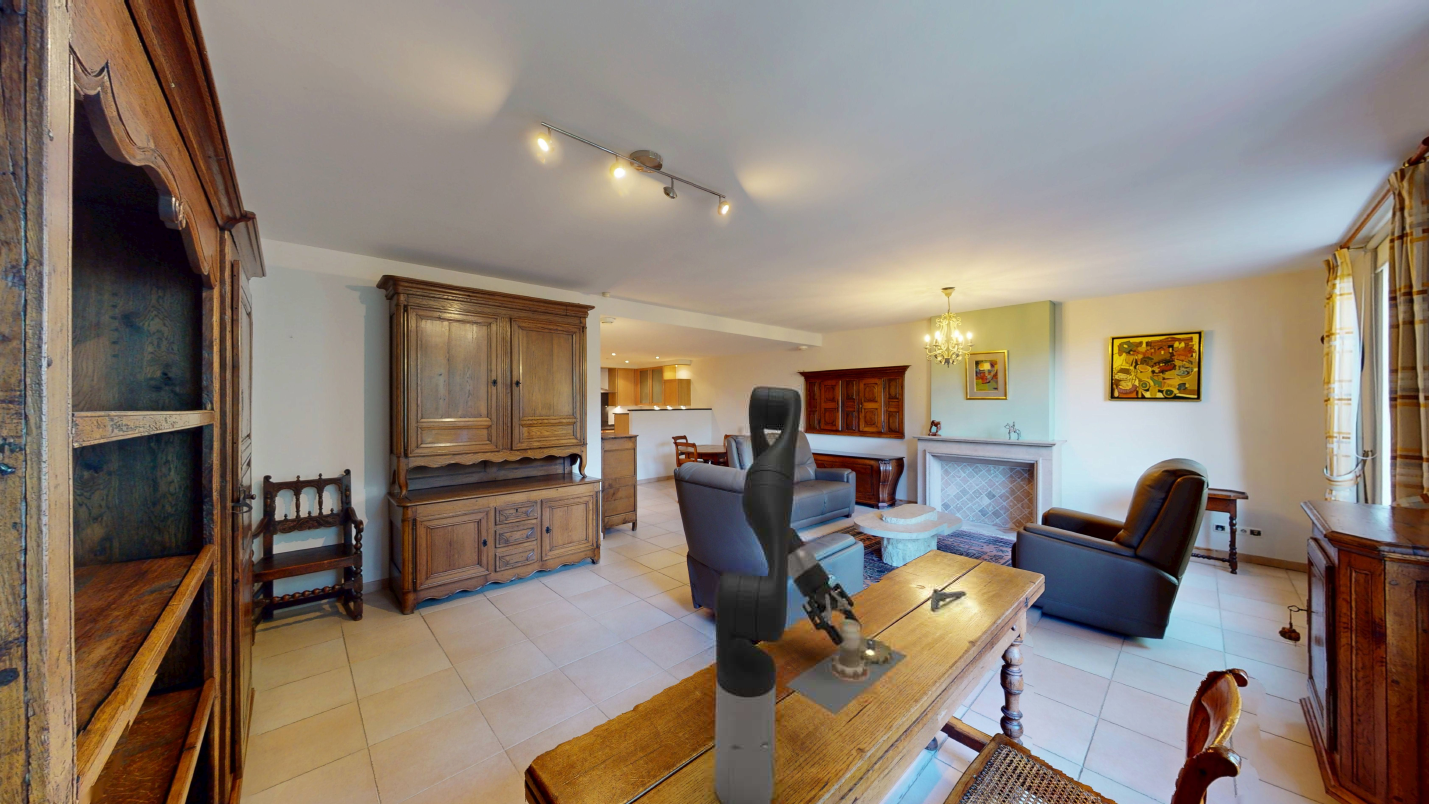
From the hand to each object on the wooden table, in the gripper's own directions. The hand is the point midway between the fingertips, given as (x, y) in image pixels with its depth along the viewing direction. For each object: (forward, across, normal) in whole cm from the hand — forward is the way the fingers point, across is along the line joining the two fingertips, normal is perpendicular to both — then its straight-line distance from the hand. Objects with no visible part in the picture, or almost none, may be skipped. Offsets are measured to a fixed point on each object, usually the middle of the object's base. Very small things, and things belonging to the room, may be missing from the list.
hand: (849, 636), depth 103 cm
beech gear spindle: (+5, 0, +5) cm, 7 cm away
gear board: (+6, 0, +6) cm, 9 cm away
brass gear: (+6, +9, +4) cm, 12 cm away
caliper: (+10, +56, +3) cm, 57 cm away
